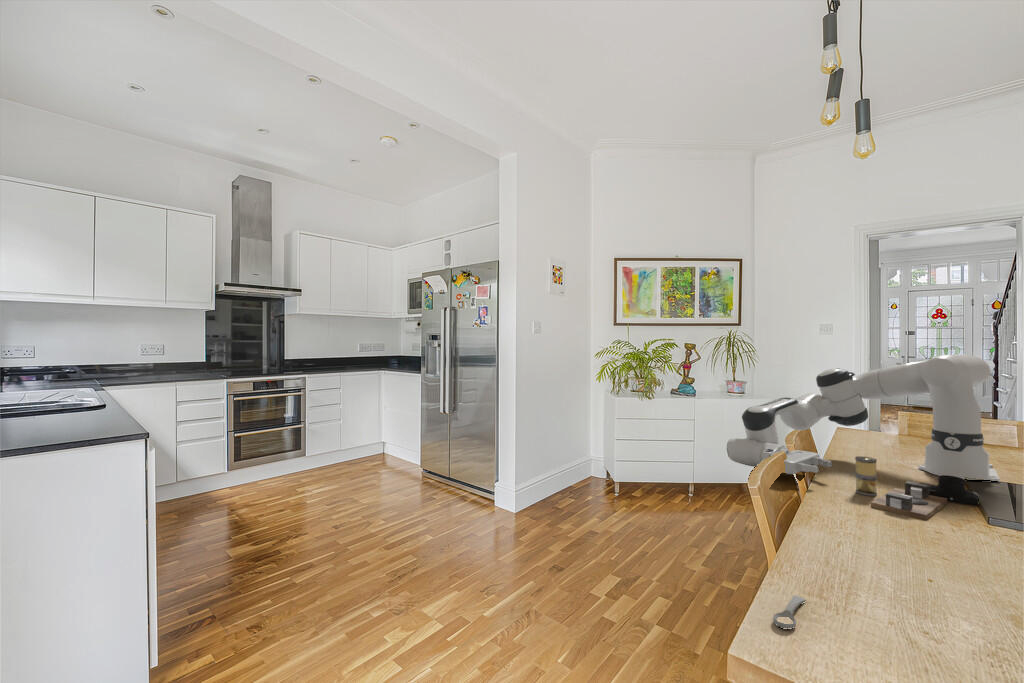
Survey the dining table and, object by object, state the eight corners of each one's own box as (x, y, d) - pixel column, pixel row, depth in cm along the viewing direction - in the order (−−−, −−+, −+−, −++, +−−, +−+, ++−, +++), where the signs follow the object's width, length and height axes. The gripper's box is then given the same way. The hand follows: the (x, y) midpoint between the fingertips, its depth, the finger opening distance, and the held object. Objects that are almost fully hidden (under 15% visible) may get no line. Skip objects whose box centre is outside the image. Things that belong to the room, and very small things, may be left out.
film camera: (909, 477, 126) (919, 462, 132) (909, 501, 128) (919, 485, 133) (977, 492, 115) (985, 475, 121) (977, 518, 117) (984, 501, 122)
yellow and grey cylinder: (859, 489, 132) (858, 455, 132) (879, 494, 128) (879, 458, 129) (853, 492, 130) (852, 458, 130) (873, 497, 126) (873, 461, 126)
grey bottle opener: (770, 628, 69) (770, 614, 69) (790, 602, 77) (790, 590, 78) (792, 636, 67) (792, 622, 67) (810, 608, 75) (810, 596, 75)
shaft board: (895, 492, 130) (894, 478, 130) (947, 502, 121) (947, 488, 121) (870, 506, 118) (870, 491, 119) (926, 520, 110) (926, 503, 110)
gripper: (790, 462, 155) (837, 471, 143) (761, 472, 143) (810, 483, 131) (790, 443, 155) (837, 451, 143) (761, 452, 143) (810, 461, 131)
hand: (824, 466), depth 137 cm, fingers open, 8 cm apart
